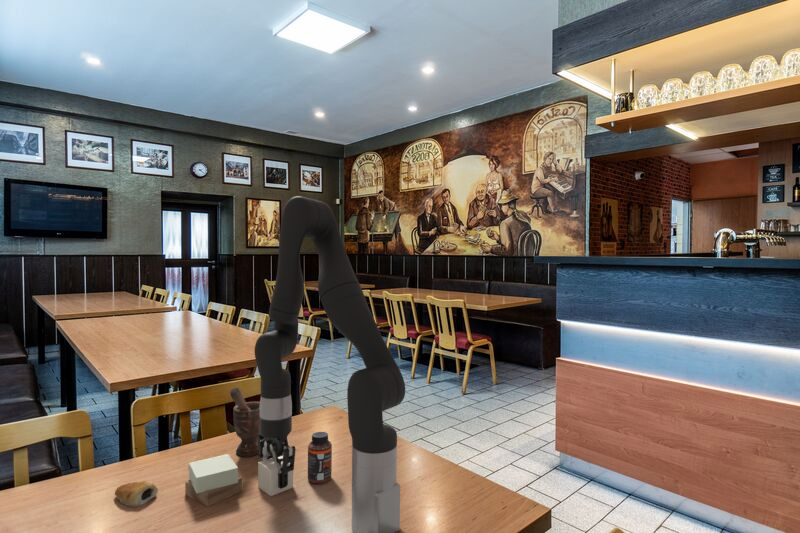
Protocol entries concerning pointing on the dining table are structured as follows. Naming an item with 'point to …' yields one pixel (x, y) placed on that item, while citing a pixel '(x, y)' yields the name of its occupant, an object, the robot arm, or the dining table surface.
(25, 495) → the dining table surface
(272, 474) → the cream block
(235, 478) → the upper block
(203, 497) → the lower block
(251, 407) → the mortar and pestle
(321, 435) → the supplement bottle
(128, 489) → the pastry
